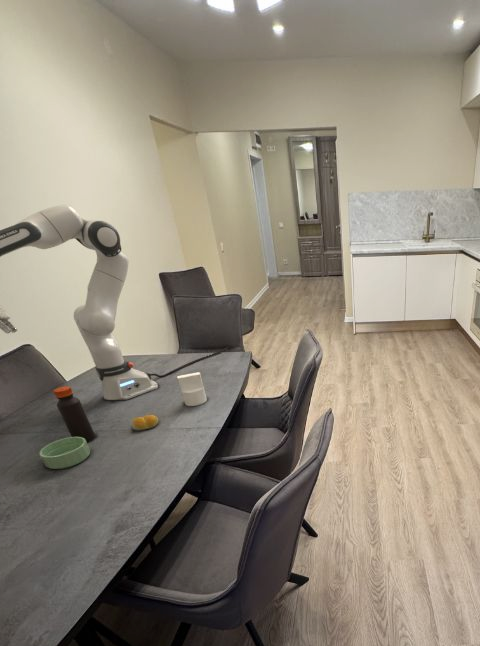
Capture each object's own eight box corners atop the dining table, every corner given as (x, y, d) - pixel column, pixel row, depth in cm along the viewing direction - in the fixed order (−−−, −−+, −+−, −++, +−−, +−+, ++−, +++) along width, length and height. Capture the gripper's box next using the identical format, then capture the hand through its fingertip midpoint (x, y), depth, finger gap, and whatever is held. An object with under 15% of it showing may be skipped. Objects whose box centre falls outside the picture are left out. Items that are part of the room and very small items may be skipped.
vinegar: (78, 436, 145) (55, 386, 135) (98, 433, 146) (76, 383, 136) (71, 445, 139) (46, 394, 129) (91, 442, 140) (69, 391, 130)
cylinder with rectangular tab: (205, 395, 173) (199, 369, 167) (208, 402, 166) (201, 376, 160) (184, 399, 170) (176, 373, 164) (185, 407, 162) (177, 380, 156)
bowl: (86, 444, 139) (80, 432, 136) (95, 458, 131) (89, 445, 128) (43, 459, 131) (36, 447, 129) (50, 475, 123) (43, 461, 121)
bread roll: (160, 426, 149) (157, 416, 147) (135, 433, 145) (131, 423, 143) (157, 418, 155) (154, 409, 153) (132, 424, 151) (129, 415, 149)
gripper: (-26, 290, 123) (14, 327, 130) (-9, 293, 140) (26, 326, 147) (-46, 301, 122) (-4, 338, 129) (-26, 303, 139) (10, 336, 146)
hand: (12, 332), depth 138 cm, fingers open, 8 cm apart
